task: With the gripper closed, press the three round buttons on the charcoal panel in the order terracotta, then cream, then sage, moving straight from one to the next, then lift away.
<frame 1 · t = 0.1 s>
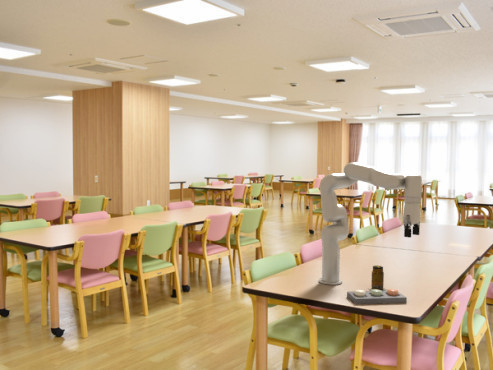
hand: (411, 235, 220), 31 cm above the table, tool pointing down, fingers open, 9 cm apart
button sage: (376, 293, 221), point 3 cm above the table, slide at 0.0 cm
condiment: (378, 289, 239), on the table
button cream: (359, 293, 220), point 3 cm above the table, slide at 0.0 cm
button terracotta: (392, 292, 222), point 3 cm above the table, slide at 0.0 cm
panel: (376, 299, 221), on the table
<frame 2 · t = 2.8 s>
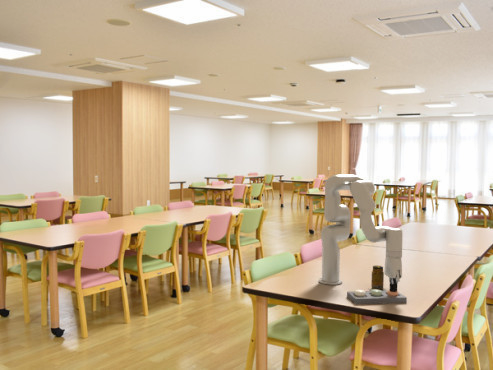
hand: (393, 291, 222), 4 cm above the table, tool pointing down, fingers closed
button terracotta: (392, 293, 222), point 3 cm above the table, slide at 0.4 cm, touching gripper
everything else where it was.
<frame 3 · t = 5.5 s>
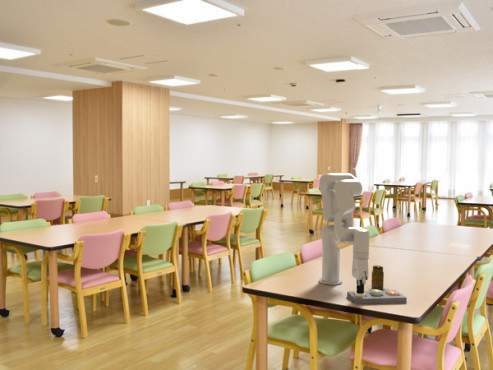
hand: (360, 293, 220), 4 cm above the table, tool pointing down, fingers closed
button cream: (359, 295, 220), point 2 cm above the table, slide at 0.9 cm
button terracotta: (392, 294, 222), point 2 cm above the table, slide at 1.0 cm
everything else where it was.
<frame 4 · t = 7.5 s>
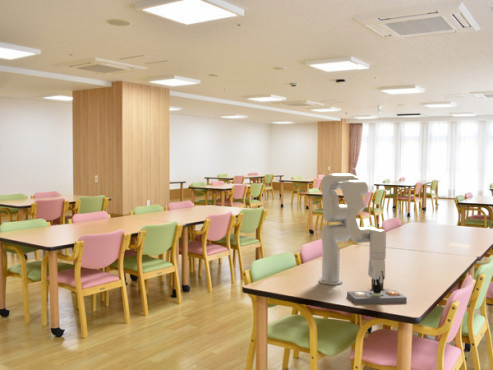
hand: (376, 292, 221), 4 cm above the table, tool pointing down, fingers closed
button sage: (376, 294, 221), point 2 cm above the table, slide at 0.9 cm, touching gripper
everything else where it was.
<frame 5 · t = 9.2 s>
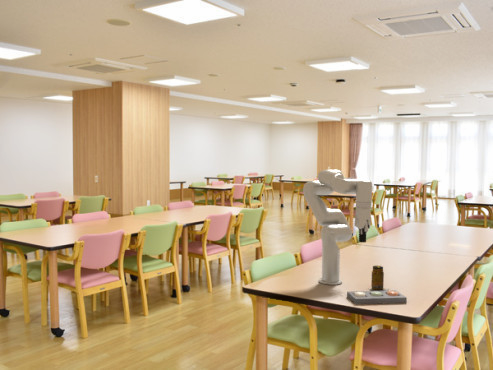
hand: (362, 241, 227), 27 cm above the table, tool pointing down, fingers closed
button sage: (376, 295, 221), point 2 cm above the table, slide at 1.1 cm
everything else where it was.
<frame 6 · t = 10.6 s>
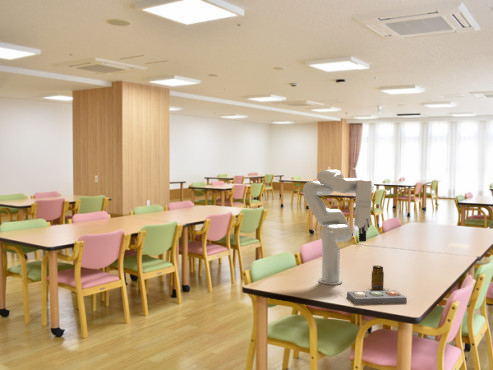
hand: (362, 241, 227), 27 cm above the table, tool pointing down, fingers closed
nothing on the table moved.
at the end: button terracotta slide at 1.0 cm; button cream slide at 1.1 cm; button sage slide at 1.1 cm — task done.
